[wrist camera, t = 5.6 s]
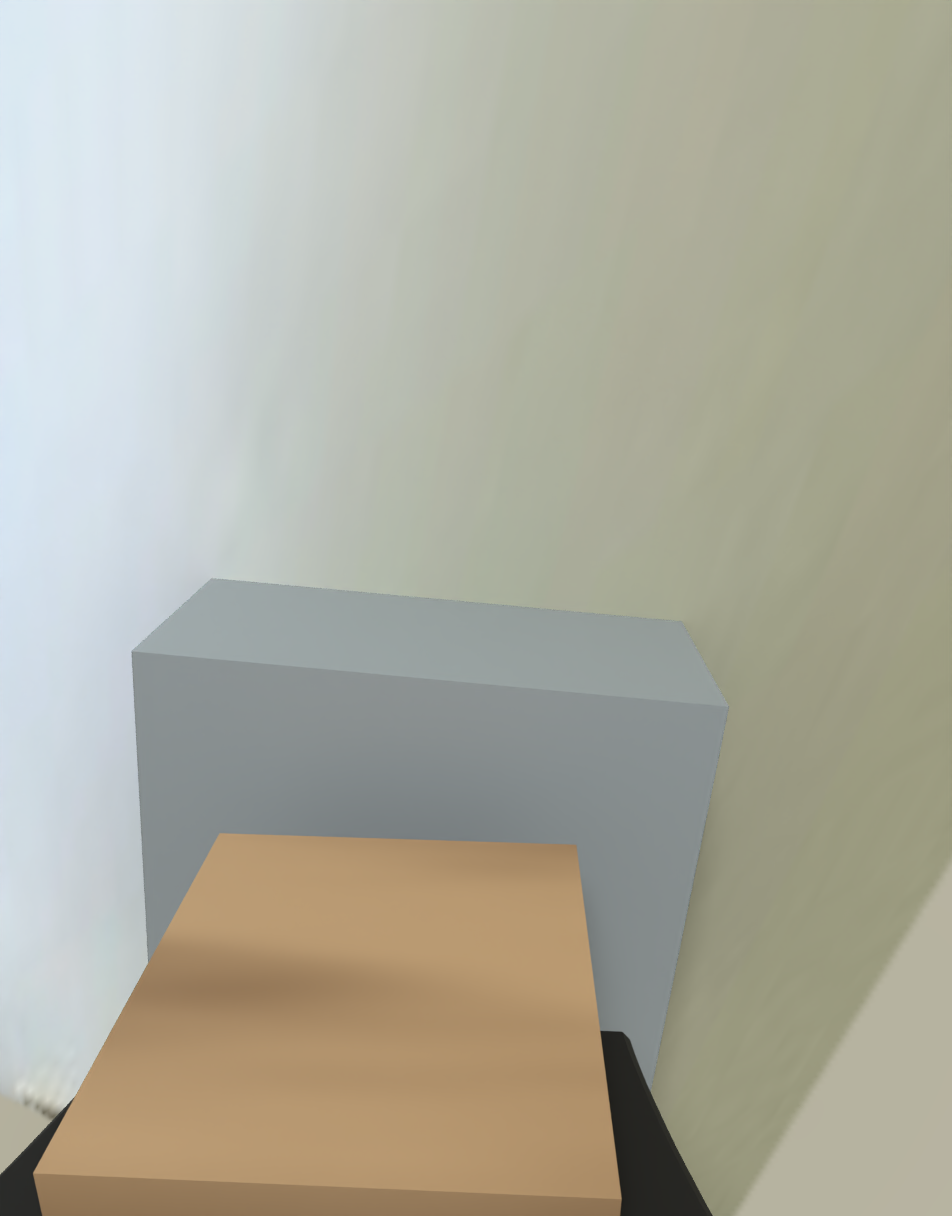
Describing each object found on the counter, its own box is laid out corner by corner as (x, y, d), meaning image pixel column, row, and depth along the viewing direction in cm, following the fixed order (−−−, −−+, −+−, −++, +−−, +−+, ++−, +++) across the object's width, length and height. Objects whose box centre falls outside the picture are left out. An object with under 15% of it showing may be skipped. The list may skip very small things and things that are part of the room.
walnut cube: (560, 1113, 14) (587, 1545, 9) (246, 1100, 14) (108, 1517, 9) (576, 845, 12) (621, 1198, 7) (219, 832, 12) (32, 1173, 7)
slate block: (614, 984, 20) (639, 1145, 16) (223, 946, 20) (155, 1099, 16) (678, 615, 17) (729, 706, 13) (216, 573, 17) (131, 651, 13)
